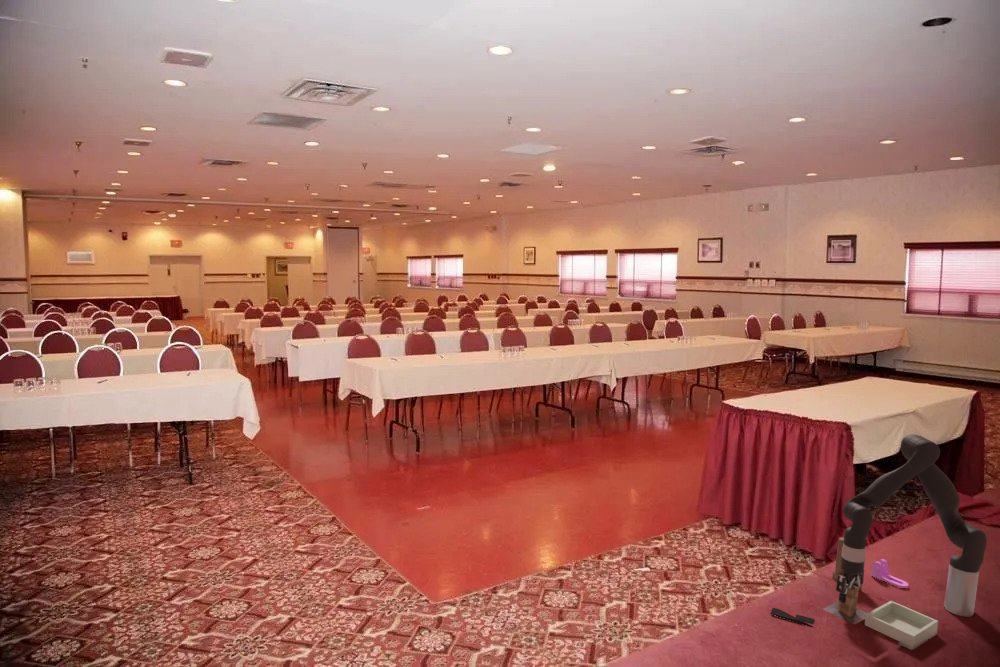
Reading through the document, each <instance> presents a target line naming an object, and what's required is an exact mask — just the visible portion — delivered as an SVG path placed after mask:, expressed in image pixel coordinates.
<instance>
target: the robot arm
mask: <svg viewBox="0 0 1000 667" xmlns="http://www.w3.org/2000/svg"><path fill="white" fill-rule="evenodd" d="M900 451H901V452H902V455H903V457H904V458H905V459H906V461H907V462H905V463H904V464H903V465H901V466H900V467H898V468H896V469H894V470H891V471H890V472H889V471H888V472H887V473H884V474H882V475H881V476H879V477H878V478H876V479H875V480H874V481H873V482H872V483H871V484H870V485H869V486H868V487H867V488H866V489H865V490H864V491H863V492H860V493H858V494H857V495H856V496H854V497H852V498H850V499H849V500H848V501H847V502H846V503H845V504H844V506H843V510H842V513H843V516H844V517H845V518H846V519H848V520H849V521H851V522H852V523H851V526H850V527H847V528H845V530H844V534H843V535H844V537H843V538H844V543H843V547H842V554H841V564H840V566H841V568H842V569H843V570H844V573H843V575H842V576H841V575H838V579H837V581H836V585H835V586H836V587H835V591H836V592H838V601H840V602H842V603H845V602H846V595H847V591H848V589H850V588H851V586H852V584H853V585H854V586H857V587H860V584H862V585H863V583H864V579H865V577H864V576H865V563H864V561H866V542H867V537H868V535H869V532H870V530H871V527H872V525H873V520H874V518H873V513H872V511H871V510H870V508H871V507H877V508H878V507H879V508H880V507H881V506H882V505H884V504H885V502H887V501H888V500H889V499H890V498H891V497H892V496H893V495H894V494H895V493H896V492H897V491H898V490H900V489H901V488H902V487H903V486H904V485H906V484H907V483H908V482H910V481H911V480H912V479H914V478H916V477H918V480H919V482H920V484H921V486H922V487H923V490H924V491H925V493H926V495H927V497H928V499H929V500H930V503H931V504H932V506H933V507H934V509H935V511H936V513H937V515H938V517H939V519H940V521H941V523H942V525H943V529H944V531H945V534H946V536H947V538H948V539H949V541H950V543H952V544H953V545H955V546H956V547H958V548H960V549H962V552H961V554H954V555H951V556H950V559H949V565H948V572H947V582H946V589H945V595H944V604H943V608H944V607H945V608H944V609H945V610H946V611H948V612H949V613H950V614H951V613H952V614H953V615H956V616H959V617H967V618H968V617H969V618H970V617H972V616H973V615H974V614H975V605H976V604H975V603H976V597H977V592H978V590H977V589H978V583H979V574H980V568H981V567H982V565H983V563H984V559H985V553H986V548H987V544H988V542H987V540H988V539H987V535H986V533H985V532H984V531H983V530H981V529H980V528H977V527H975V526H973V525H971V524H968V522H966V521H965V520H964V519H963V517H962V516H961V513H960V511H959V507H960V505H961V497H960V495H959V493H958V490H957V489H956V487H955V485H954V483H953V482H952V480H951V479H950V478H949V477H948V475H947V474H946V473H944V472H943V471H942V470H941V469H940V468H939V466H938V465H936V464H935V463H936V462H937V460H938V459H939V457H940V455H941V449H940V447H939V445H938V444H937V443H936V442H934V441H931V440H930V439H928V438H925V437H924V436H922V435H918V434H914V433H913V434H912V433H911V434H908V435H905V436H904V437H903V438H902V439H901V442H900ZM859 578H861V580H860V579H859ZM846 584H848V585H846ZM845 587H846V588H845ZM858 593H860V591H858Z"/></svg>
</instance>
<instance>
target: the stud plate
mask: <svg viewBox="0 0 1000 667" xmlns="http://www.w3.org/2000/svg"><path fill="white" fill-rule="evenodd" d="M838 606H839V600H838V601H836V602H834V603H832V604H830V605H828V606H826V607H824V608H822V610H823V611H825V612H827V613H830V614H832V615H833V616H836V617H837V618H839V619H842V620H843V621H845V622H848V623H850V624H851V625H857V624H859V623H860V622H862V621H865V617H866V614H867V613H868V612H866V611H865V610H862V609H859V608H858V607H857V610H856V613H855V614H854V615H852V616H847V615H845V614H843V613H841V612H839V611H838Z"/></svg>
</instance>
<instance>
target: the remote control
mask: <svg viewBox="0 0 1000 667" xmlns="http://www.w3.org/2000/svg"><path fill="white" fill-rule="evenodd" d="M771 614H773V615H776V616H778V617H781V618H785V619H788V620H791V621H790V622H792V621H794V622H793V623H795V622H798V623H797V624H799V623H801V624H800V625H802V624H804V625H803V626H806V625H807V626H806V627H809V626H810V628H813V627H814V626H813V625H814V624H815V623H816V622H815V621H816V619H814V618H813V617H808V616H805V615H800V614H795V616H793V615H791V614H790V613H787V612H786V611H783V609H780V608H776V607H773V608H771V611H770V615H771ZM778 617H777V618H778ZM781 618H780V619H781ZM785 619H784V620H785ZM788 620H787V621H788Z"/></svg>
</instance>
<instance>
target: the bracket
mask: <svg viewBox="0 0 1000 667" xmlns="http://www.w3.org/2000/svg"><path fill="white" fill-rule="evenodd" d="M870 573H871V574H870V577H871V576H873V577H875V578H874V579H876V578H877V579H876V580H878V579H879V580H878V581H880V580H882V581H881V582H883V581H885V582H887V583H886V584H888V583H890V584H892V585H895V586H897V587H900V588H907V589H909V583H908V582H907V581H905V580H903V579H901V578H897V577H895V576H893V575H890V574H889V562H888V561H887V560H886V559H884V558H882V559H879V560H877V561H875V562H873V563H872V566H871V572H870ZM873 577H872V578H873ZM885 582H884V583H885ZM890 584H889V585H890ZM892 585H891V586H892ZM895 586H894V587H895ZM897 587H896V588H897ZM900 588H899V589H900Z"/></svg>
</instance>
